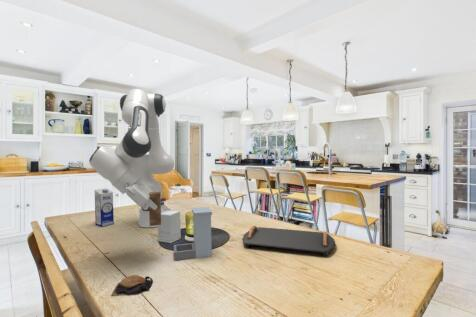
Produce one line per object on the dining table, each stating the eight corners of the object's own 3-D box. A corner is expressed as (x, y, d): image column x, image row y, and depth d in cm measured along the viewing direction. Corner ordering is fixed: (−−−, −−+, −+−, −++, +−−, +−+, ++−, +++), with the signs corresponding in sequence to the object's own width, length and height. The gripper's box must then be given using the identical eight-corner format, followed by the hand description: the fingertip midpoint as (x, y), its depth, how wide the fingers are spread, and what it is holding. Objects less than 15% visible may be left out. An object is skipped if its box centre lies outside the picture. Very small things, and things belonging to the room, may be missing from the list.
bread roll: (109, 299, 71) (109, 286, 71) (118, 283, 80) (118, 272, 79) (149, 295, 73) (148, 282, 73) (154, 280, 81) (153, 269, 81)
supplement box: (181, 238, 119) (180, 211, 118) (170, 243, 112) (170, 215, 111) (168, 236, 122) (168, 210, 121) (157, 241, 115) (157, 213, 115)
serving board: (334, 239, 115) (334, 225, 115) (336, 260, 93) (336, 244, 93) (251, 232, 128) (251, 219, 127) (236, 249, 106) (236, 234, 105)
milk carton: (108, 222, 148) (106, 187, 147) (114, 224, 144) (113, 188, 143) (95, 225, 142) (94, 189, 141) (101, 227, 138) (100, 190, 137)
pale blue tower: (174, 261, 94) (172, 214, 93) (173, 252, 102) (172, 209, 102) (212, 256, 97) (212, 211, 97) (209, 248, 106) (208, 206, 105)
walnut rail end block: (149, 225, 95) (148, 193, 95) (150, 222, 99) (149, 192, 99) (160, 224, 96) (159, 193, 96) (161, 222, 100) (160, 191, 100)
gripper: (130, 179, 85) (161, 206, 88) (138, 173, 105) (164, 196, 108) (116, 193, 84) (148, 220, 87) (127, 185, 104) (153, 207, 107)
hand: (157, 206), depth 98 cm, fingers closed on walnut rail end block, 4 cm apart
